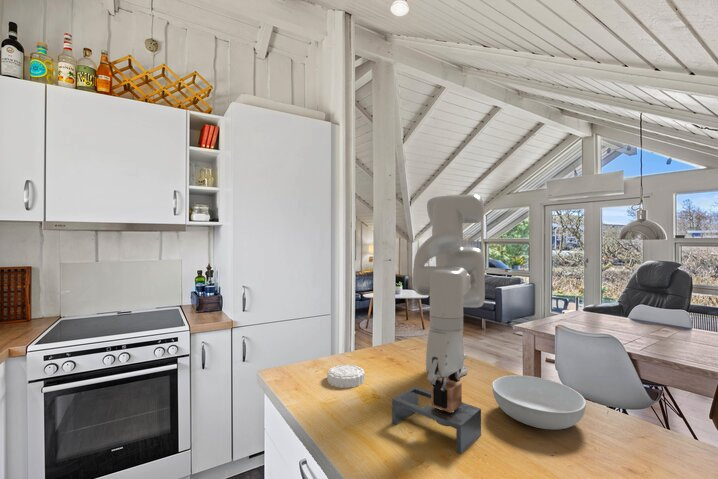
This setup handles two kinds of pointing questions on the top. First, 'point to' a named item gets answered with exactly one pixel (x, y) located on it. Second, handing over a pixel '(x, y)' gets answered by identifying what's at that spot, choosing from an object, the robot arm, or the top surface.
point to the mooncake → (346, 376)
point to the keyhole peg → (450, 396)
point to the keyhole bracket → (440, 416)
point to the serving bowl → (539, 401)
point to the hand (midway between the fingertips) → (446, 401)
